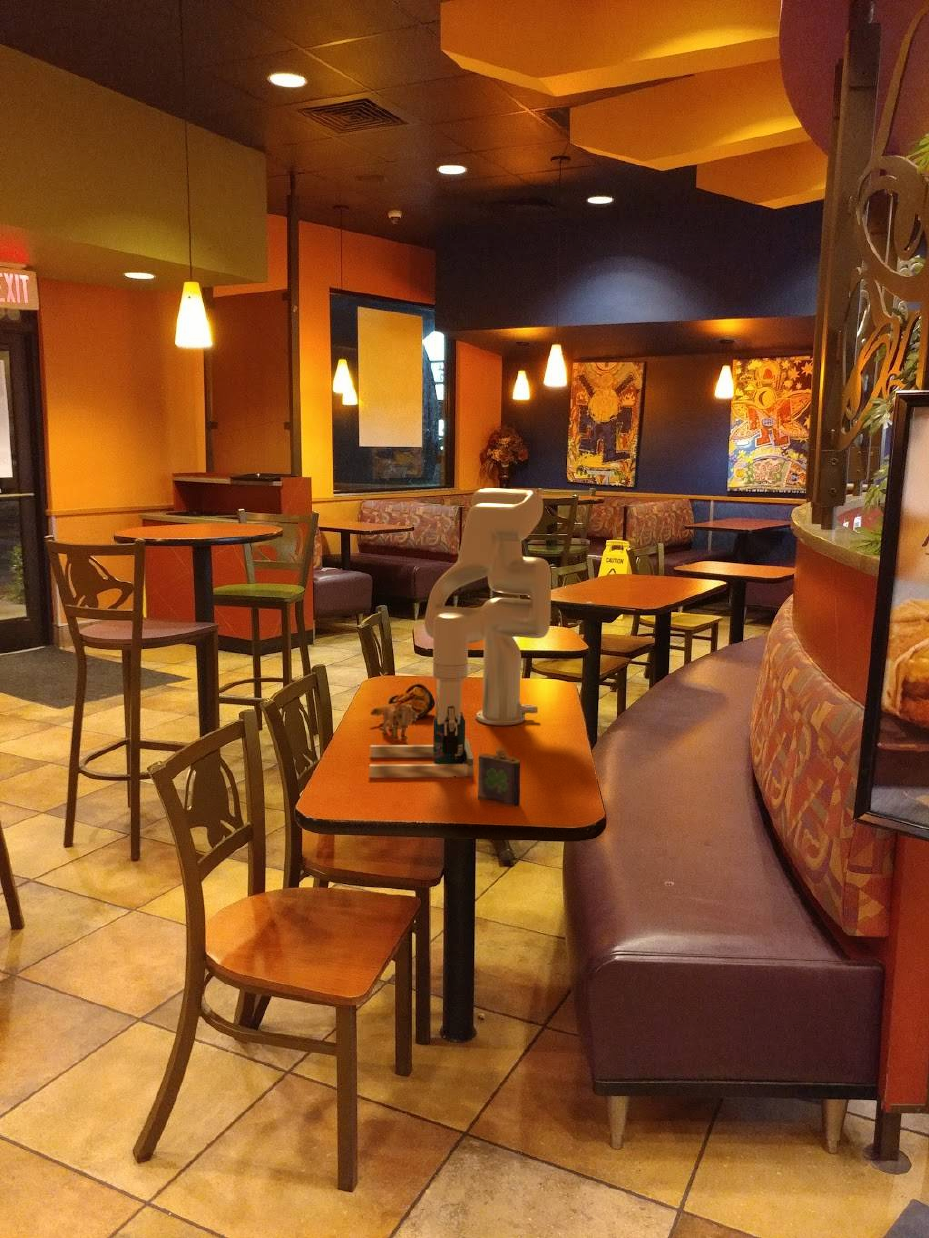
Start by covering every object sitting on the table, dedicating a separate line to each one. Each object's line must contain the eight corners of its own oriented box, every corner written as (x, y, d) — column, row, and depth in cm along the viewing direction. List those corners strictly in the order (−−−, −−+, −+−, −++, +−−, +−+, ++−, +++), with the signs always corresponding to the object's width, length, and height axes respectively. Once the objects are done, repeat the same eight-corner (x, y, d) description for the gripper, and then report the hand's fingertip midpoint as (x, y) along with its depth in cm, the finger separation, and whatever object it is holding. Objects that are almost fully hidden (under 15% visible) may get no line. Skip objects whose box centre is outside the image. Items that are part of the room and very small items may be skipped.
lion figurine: (420, 741, 231) (421, 705, 230) (402, 745, 228) (402, 708, 227) (387, 726, 243) (388, 691, 241) (369, 729, 240) (369, 694, 238)
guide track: (467, 755, 222) (467, 738, 221) (472, 776, 208) (473, 758, 207) (370, 755, 220) (370, 738, 219) (369, 777, 206) (369, 759, 205)
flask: (475, 798, 196) (476, 746, 194) (482, 793, 198) (484, 743, 196) (516, 807, 191) (518, 755, 189) (522, 803, 194) (524, 751, 192)
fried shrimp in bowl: (448, 698, 252) (405, 689, 238) (427, 734, 254) (383, 727, 240) (426, 679, 258) (383, 669, 243) (406, 714, 259) (361, 706, 245)
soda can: (426, 764, 215) (427, 712, 213) (450, 758, 219) (451, 707, 217) (446, 773, 210) (447, 719, 208) (470, 766, 214) (472, 714, 212)
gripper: (431, 661, 219) (429, 734, 222) (434, 680, 202) (433, 759, 205) (464, 661, 219) (462, 734, 222) (470, 680, 202) (469, 758, 206)
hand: (448, 746), depth 214 cm, fingers open, 9 cm apart
